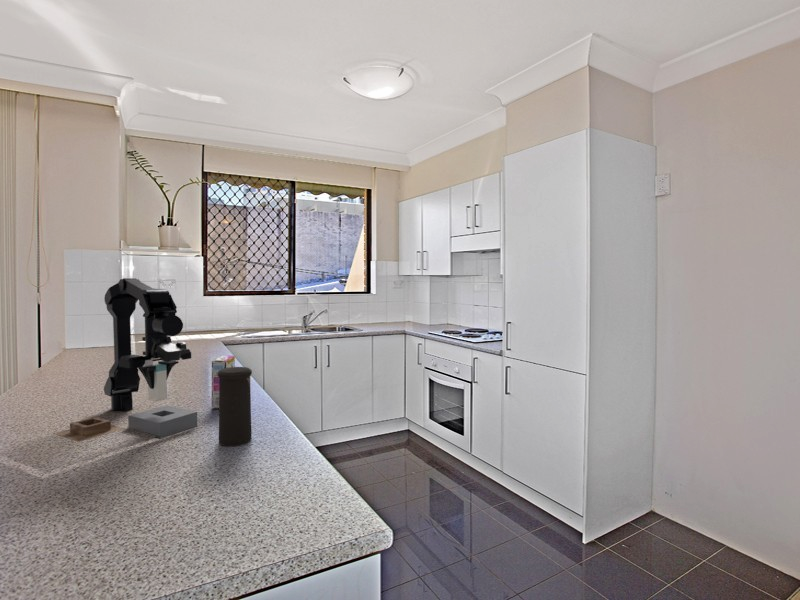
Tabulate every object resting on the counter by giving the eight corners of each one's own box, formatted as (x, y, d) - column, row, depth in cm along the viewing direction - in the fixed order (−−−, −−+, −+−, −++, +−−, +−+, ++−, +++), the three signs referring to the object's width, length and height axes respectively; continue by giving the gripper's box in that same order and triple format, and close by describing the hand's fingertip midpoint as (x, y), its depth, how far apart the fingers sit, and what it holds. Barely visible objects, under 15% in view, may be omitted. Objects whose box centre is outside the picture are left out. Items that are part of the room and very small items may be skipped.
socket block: (128, 430, 132) (128, 415, 132) (166, 419, 143) (166, 405, 143) (159, 439, 126) (159, 422, 126) (197, 426, 136) (197, 411, 136)
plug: (148, 399, 133) (147, 365, 133) (158, 397, 136) (157, 363, 135) (157, 401, 131) (156, 366, 131) (167, 399, 134) (166, 364, 133)
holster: (55, 437, 127) (54, 424, 127) (100, 425, 137) (100, 413, 137) (79, 445, 121) (78, 431, 121) (125, 431, 132) (124, 419, 131)
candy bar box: (226, 409, 154) (226, 360, 153) (211, 409, 154) (210, 360, 153) (235, 400, 165) (235, 355, 165) (221, 400, 165) (220, 355, 164)
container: (259, 437, 128) (258, 365, 127) (237, 449, 119) (237, 372, 118) (233, 434, 130) (232, 363, 129) (210, 444, 122) (209, 369, 121)
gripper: (141, 338, 120) (142, 398, 121) (203, 331, 137) (204, 384, 137) (116, 336, 126) (118, 393, 127) (179, 329, 142) (180, 380, 143)
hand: (157, 387), depth 133 cm, fingers closed on plug, 3 cm apart
